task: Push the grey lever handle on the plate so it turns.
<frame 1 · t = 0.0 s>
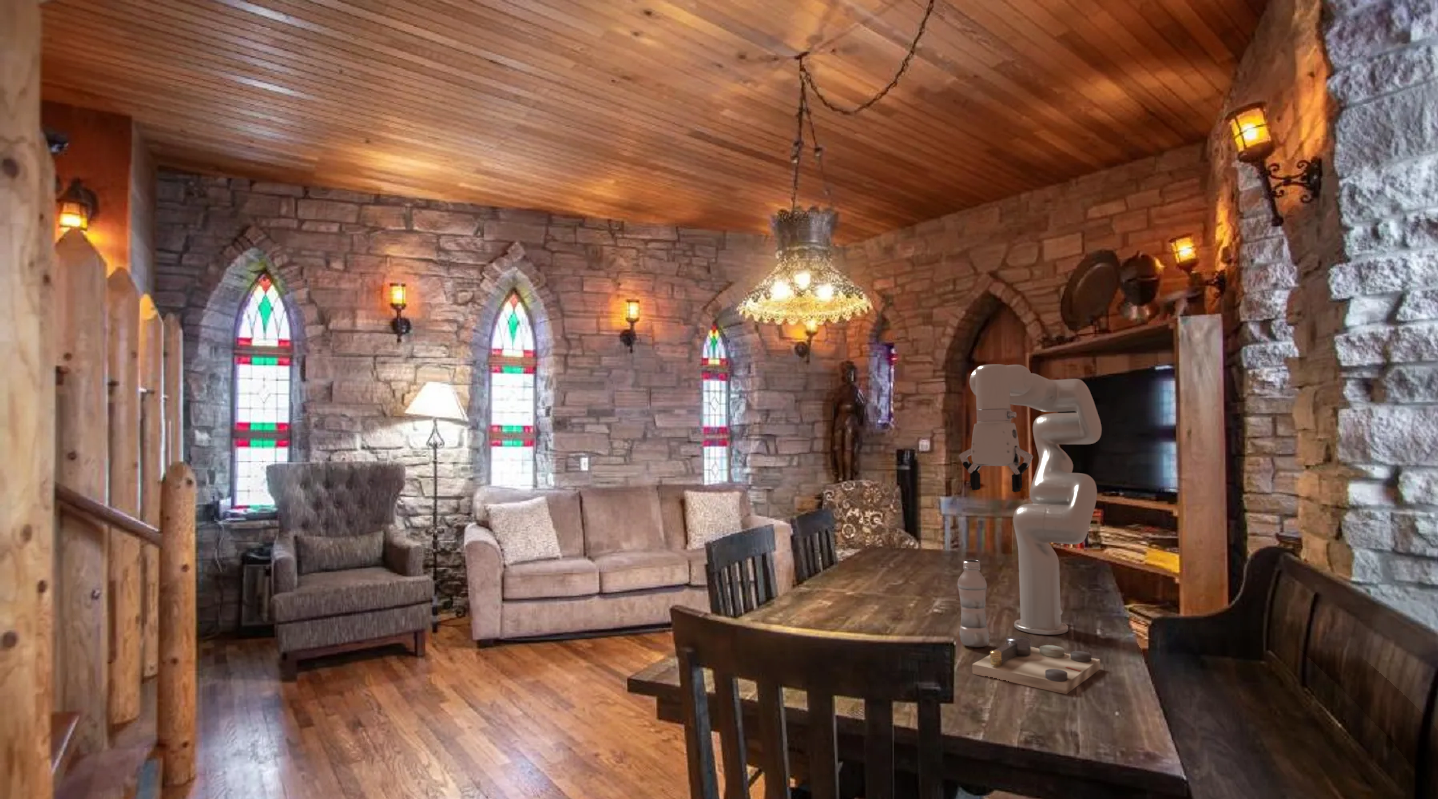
hand: (996, 490, 178), 37 cm above the table, tool pointing down, fingers open, 9 cm apart
plate: (1036, 671, 161), on the table
plastic bottle: (974, 647, 180), on the table
grey lever handle: (1008, 650, 163), point 4 cm above the table, hinge at 0.0°
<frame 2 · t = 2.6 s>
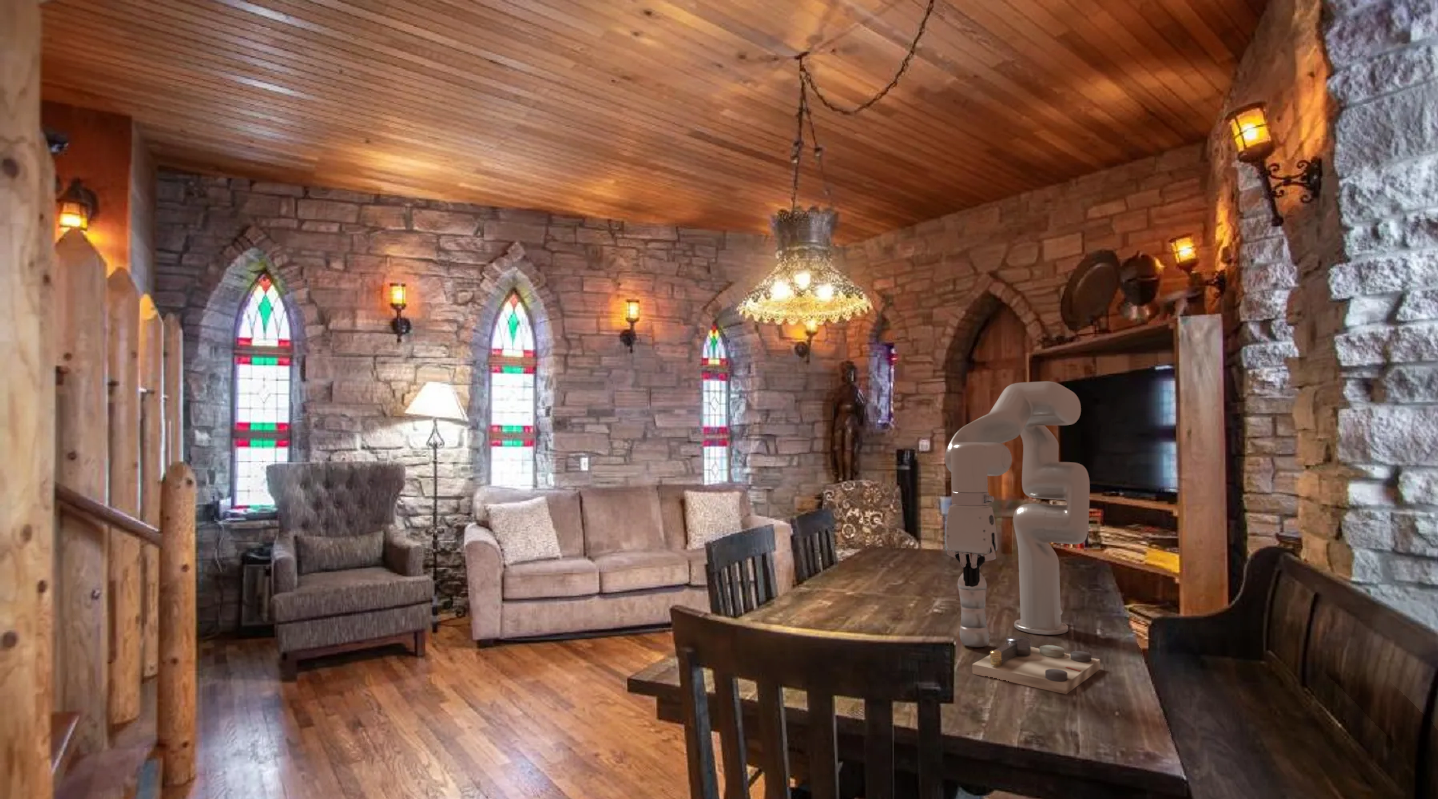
hand: (971, 585, 165), 18 cm above the table, tool pointing down, fingers closed
nothing on the table moved.
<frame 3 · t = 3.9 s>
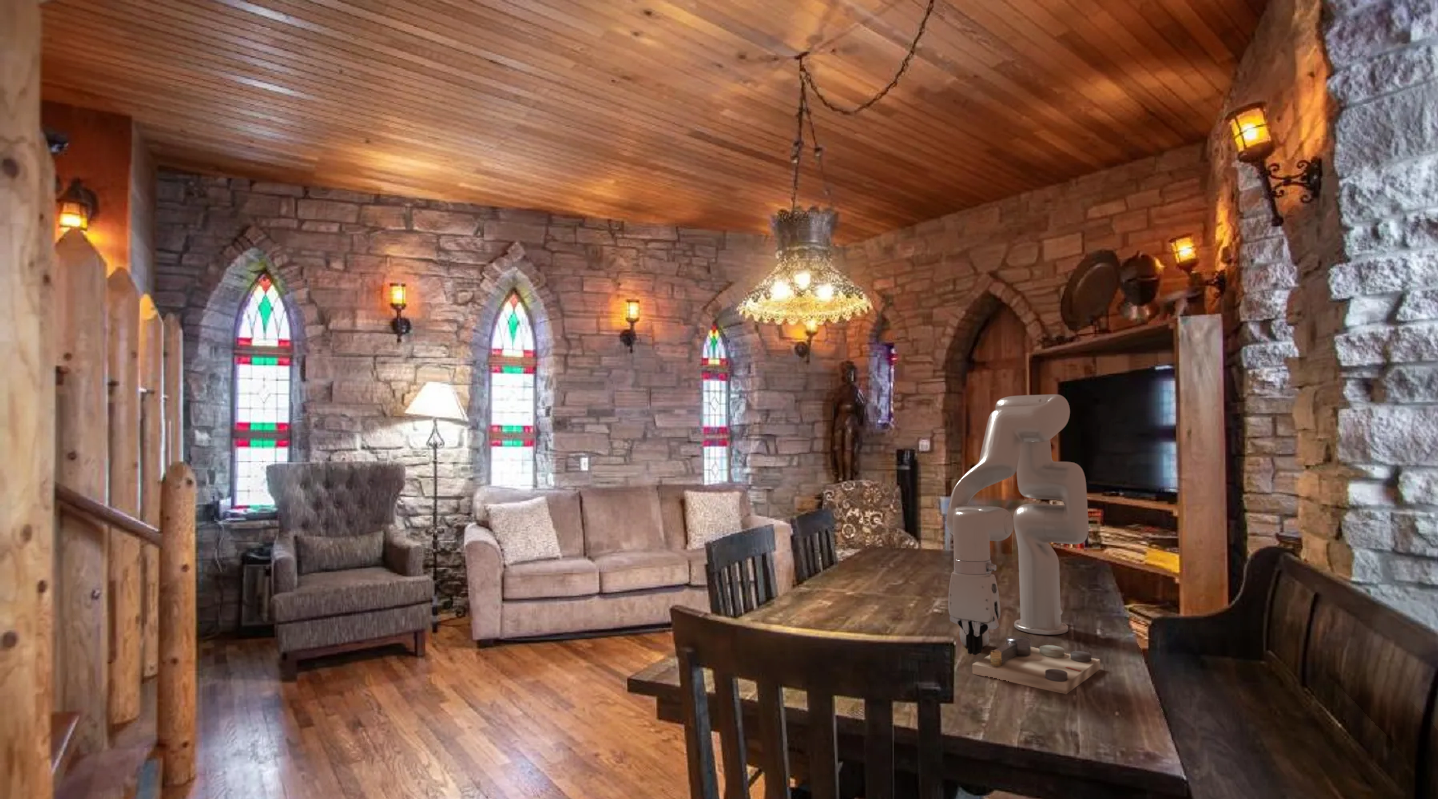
hand: (974, 652, 165), 3 cm above the table, tool pointing down, fingers closed
nothing on the table moved.
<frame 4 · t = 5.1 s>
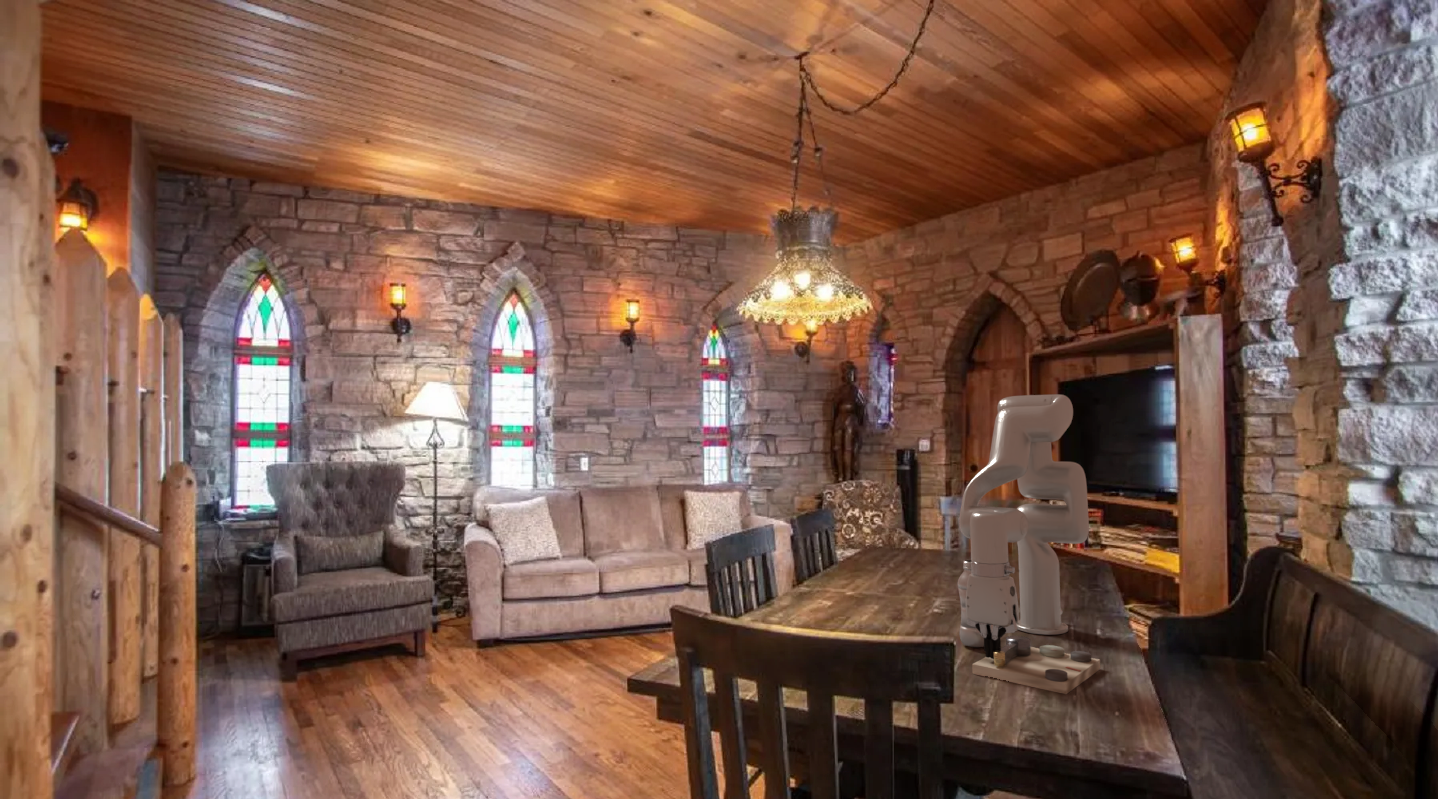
hand: (992, 656, 163), 3 cm above the table, tool pointing down, fingers closed
grey lever handle: (1010, 651, 163), point 4 cm above the table, hinge at 3.8°, touching gripper
everything else where it was.
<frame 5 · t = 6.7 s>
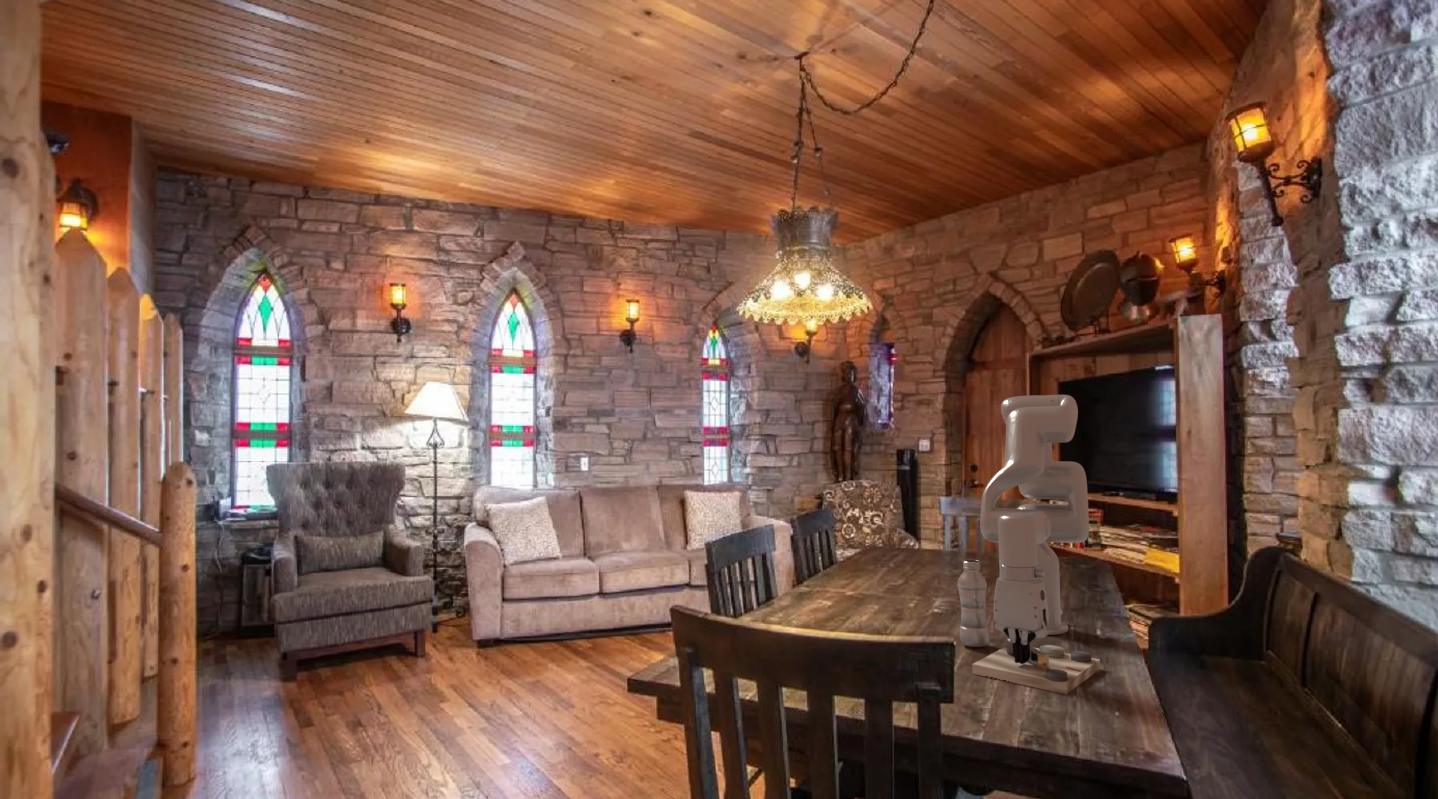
hand: (1021, 661, 159), 3 cm above the table, tool pointing down, fingers closed
grey lever handle: (1028, 652, 162), point 4 cm above the table, hinge at 46.3°, touching gripper
everything else where it was.
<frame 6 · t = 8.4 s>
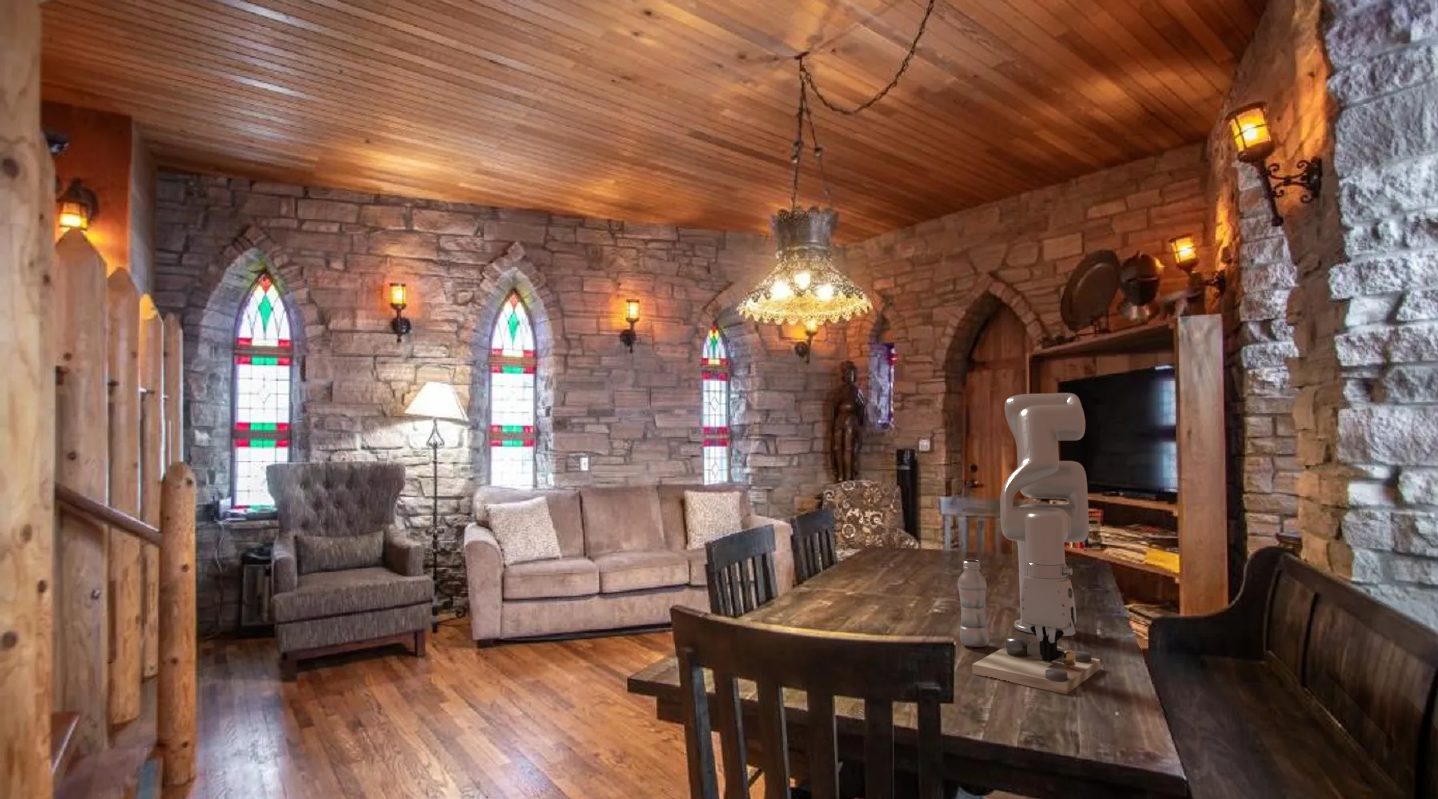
hand: (1048, 659, 159), 3 cm above the table, tool pointing down, fingers closed
grey lever handle: (1040, 650, 163), point 4 cm above the table, hinge at 81.2°, touching gripper
everything else where it was.
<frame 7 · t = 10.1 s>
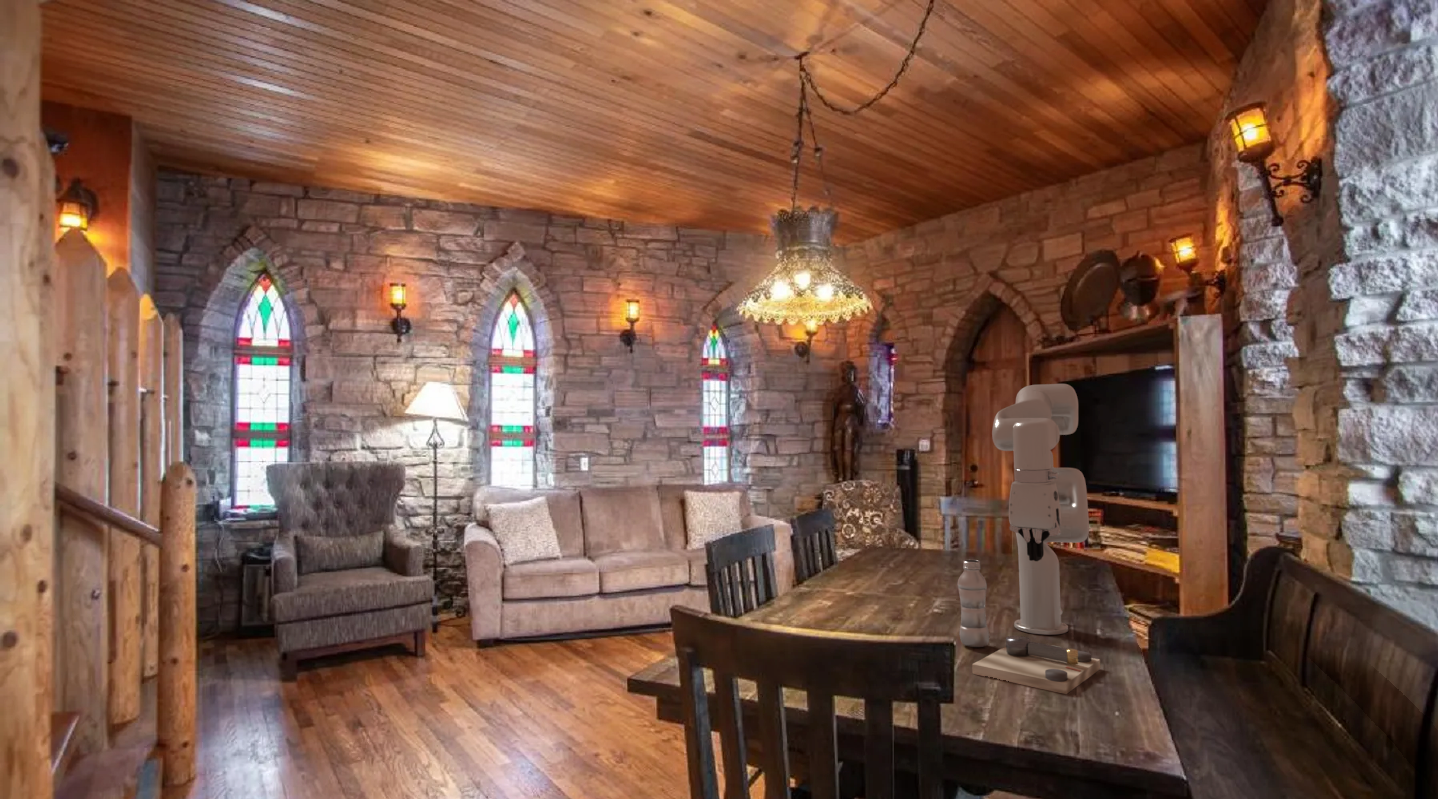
hand: (1035, 559, 169), 22 cm above the table, tool pointing down, fingers closed
grey lever handle: (1041, 650, 163), point 4 cm above the table, hinge at 87.2°
everything else where it was.
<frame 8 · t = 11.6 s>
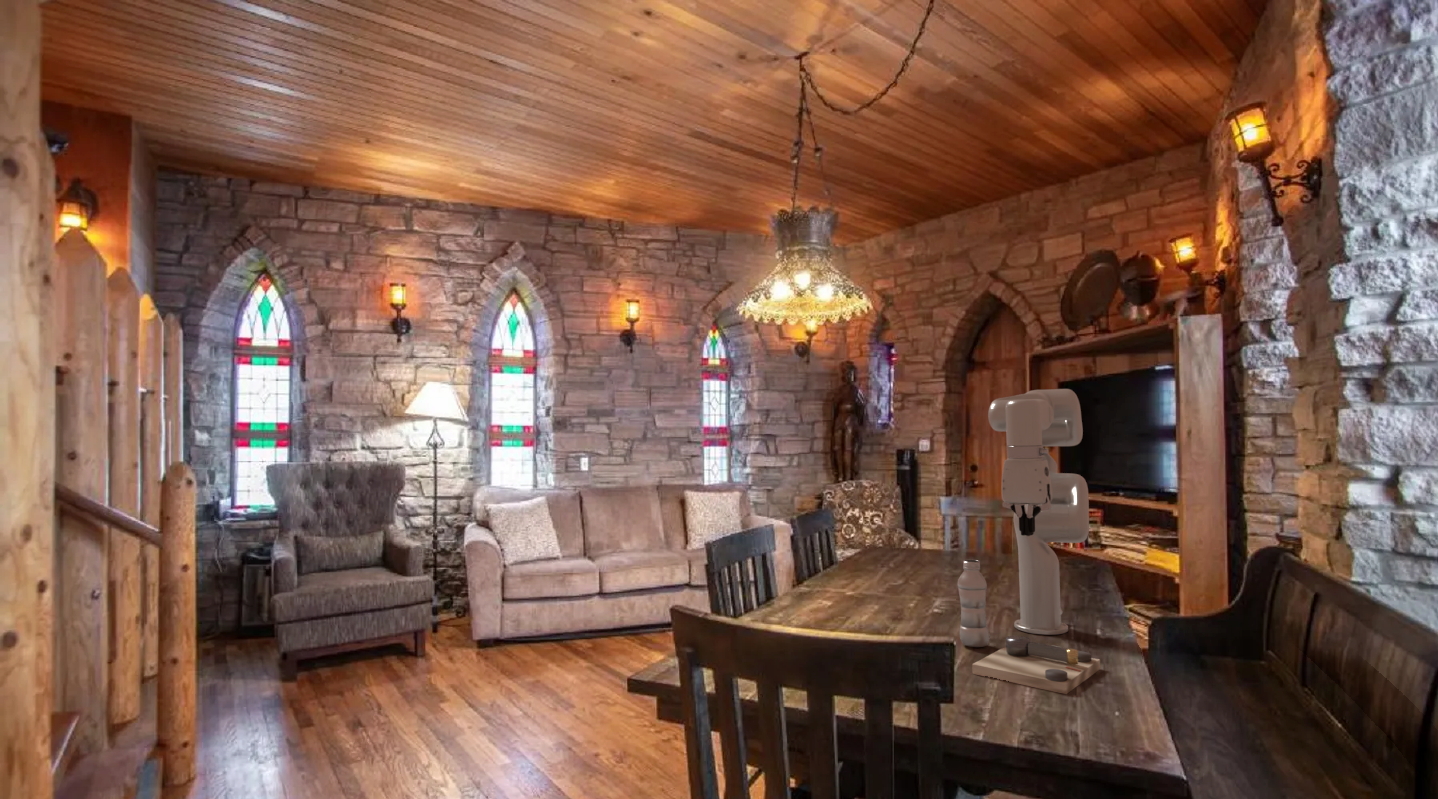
hand: (1027, 534, 173), 27 cm above the table, tool pointing down, fingers closed
nothing on the table moved.
at the end: grey lever handle at +87° (first picture: +0°) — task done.
